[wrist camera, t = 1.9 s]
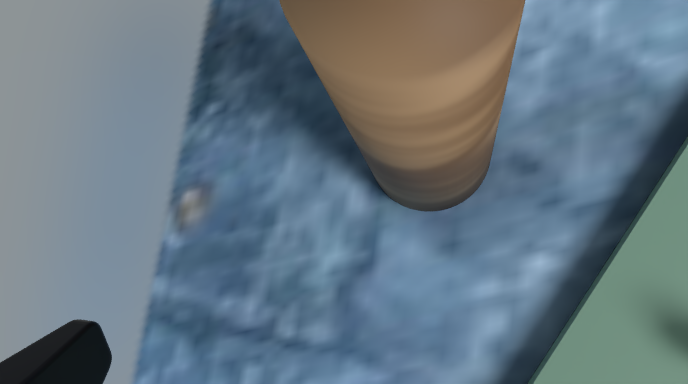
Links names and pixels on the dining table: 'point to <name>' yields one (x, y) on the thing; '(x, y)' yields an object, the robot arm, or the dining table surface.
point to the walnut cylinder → (415, 86)
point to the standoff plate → (634, 301)
